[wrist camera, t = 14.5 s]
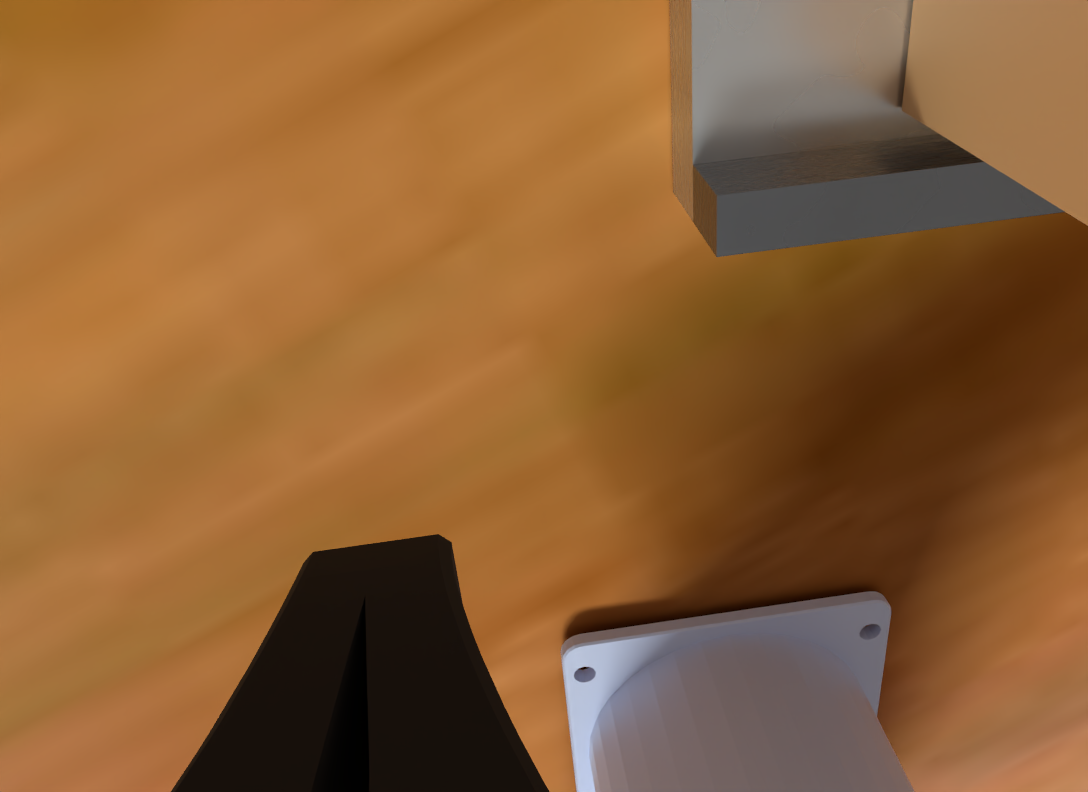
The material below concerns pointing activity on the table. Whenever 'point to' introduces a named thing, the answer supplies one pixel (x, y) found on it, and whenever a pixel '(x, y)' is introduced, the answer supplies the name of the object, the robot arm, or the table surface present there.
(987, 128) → the tan cardboard box
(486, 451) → the table surface
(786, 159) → the frame
